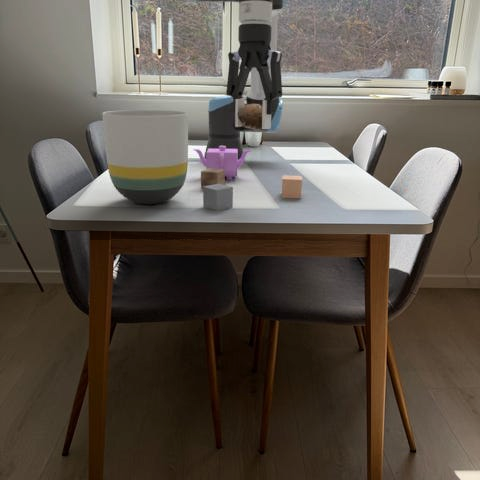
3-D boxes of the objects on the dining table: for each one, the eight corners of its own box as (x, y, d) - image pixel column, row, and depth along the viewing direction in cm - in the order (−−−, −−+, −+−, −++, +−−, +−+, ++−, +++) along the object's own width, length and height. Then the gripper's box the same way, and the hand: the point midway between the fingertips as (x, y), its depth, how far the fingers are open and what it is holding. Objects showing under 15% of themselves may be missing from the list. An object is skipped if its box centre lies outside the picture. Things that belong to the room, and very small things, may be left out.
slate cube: (203, 206, 111) (203, 186, 109) (219, 203, 114) (219, 183, 113) (216, 211, 108) (216, 190, 106) (232, 207, 111) (232, 187, 109)
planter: (196, 209, 108) (194, 115, 101) (110, 215, 103) (102, 116, 96) (182, 190, 126) (180, 109, 119) (108, 194, 121) (101, 110, 113)
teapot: (250, 173, 150) (251, 143, 147) (251, 182, 138) (252, 149, 134) (195, 172, 150) (195, 142, 147) (191, 181, 138) (190, 148, 134)
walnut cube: (201, 188, 129) (200, 171, 127) (208, 185, 133) (208, 168, 131) (217, 190, 127) (217, 172, 125) (224, 187, 131) (224, 169, 130)
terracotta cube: (281, 197, 120) (282, 179, 119) (282, 193, 125) (282, 175, 123) (300, 198, 120) (302, 179, 118) (300, 194, 124) (301, 175, 123)
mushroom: (235, 113, 116) (244, 92, 111) (263, 125, 118) (274, 106, 113) (230, 131, 111) (240, 111, 106) (260, 144, 112) (271, 124, 108)
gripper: (210, 24, 107) (211, 125, 115) (284, 19, 96) (279, 132, 104) (230, 27, 113) (229, 123, 121) (302, 23, 102) (296, 129, 109)
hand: (252, 127), depth 112 cm, fingers closed on mushroom, 7 cm apart
